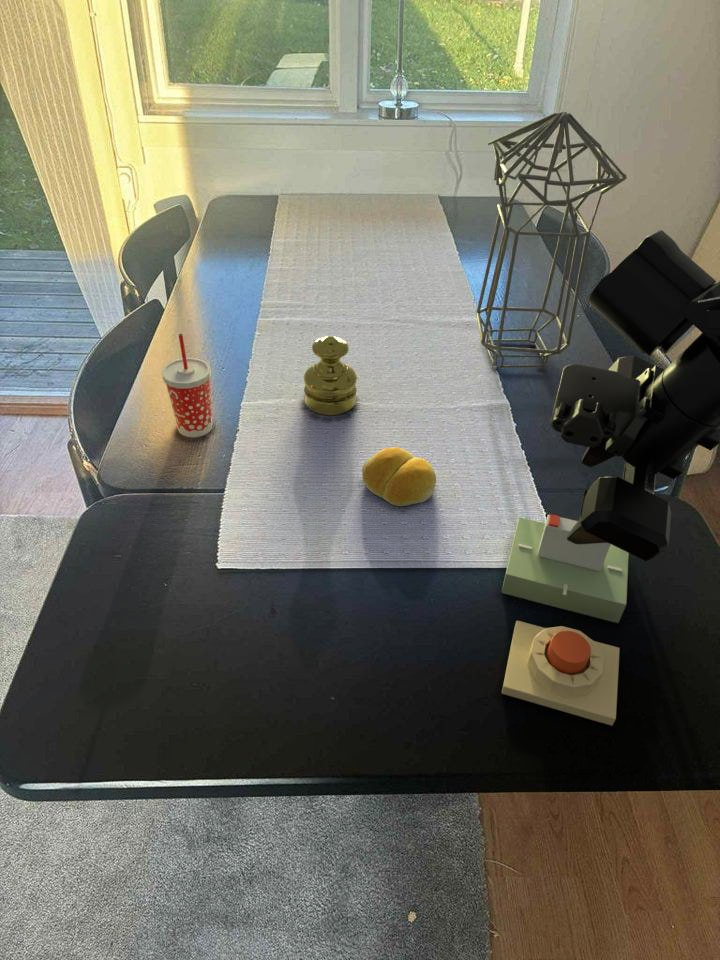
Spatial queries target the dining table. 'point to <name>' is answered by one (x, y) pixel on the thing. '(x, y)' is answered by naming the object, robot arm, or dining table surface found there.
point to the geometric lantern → (542, 134)
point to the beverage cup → (189, 393)
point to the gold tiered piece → (330, 379)
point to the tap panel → (565, 577)
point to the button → (568, 652)
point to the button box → (562, 675)
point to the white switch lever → (569, 545)
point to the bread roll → (399, 477)
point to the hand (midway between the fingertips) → (578, 500)
